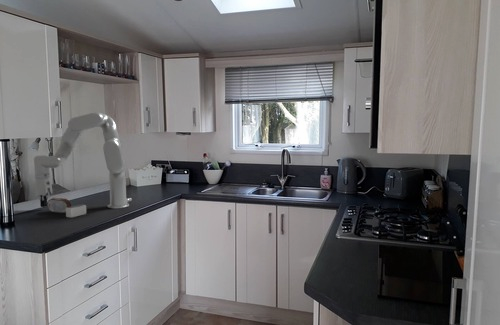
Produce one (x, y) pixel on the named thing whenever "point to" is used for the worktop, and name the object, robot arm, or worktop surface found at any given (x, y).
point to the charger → (75, 210)
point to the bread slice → (58, 205)
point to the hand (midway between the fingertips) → (43, 206)
